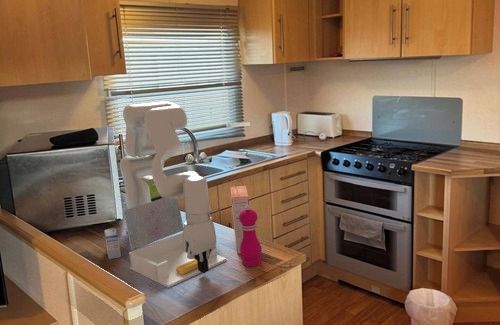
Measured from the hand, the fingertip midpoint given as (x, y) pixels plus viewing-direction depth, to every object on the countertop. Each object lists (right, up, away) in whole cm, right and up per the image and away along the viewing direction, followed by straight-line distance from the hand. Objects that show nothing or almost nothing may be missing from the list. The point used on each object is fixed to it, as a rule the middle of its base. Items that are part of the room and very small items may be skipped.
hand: (203, 271), depth 150 cm
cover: (-18, +14, +14) cm, 27 cm away
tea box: (-32, +14, +81) cm, 89 cm away
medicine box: (-35, +1, +23) cm, 42 cm away
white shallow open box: (-10, 0, +10) cm, 15 cm away
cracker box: (+12, +4, +21) cm, 25 cm away
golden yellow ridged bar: (-4, 0, +4) cm, 6 cm away
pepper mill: (+15, +1, +7) cm, 17 cm away
